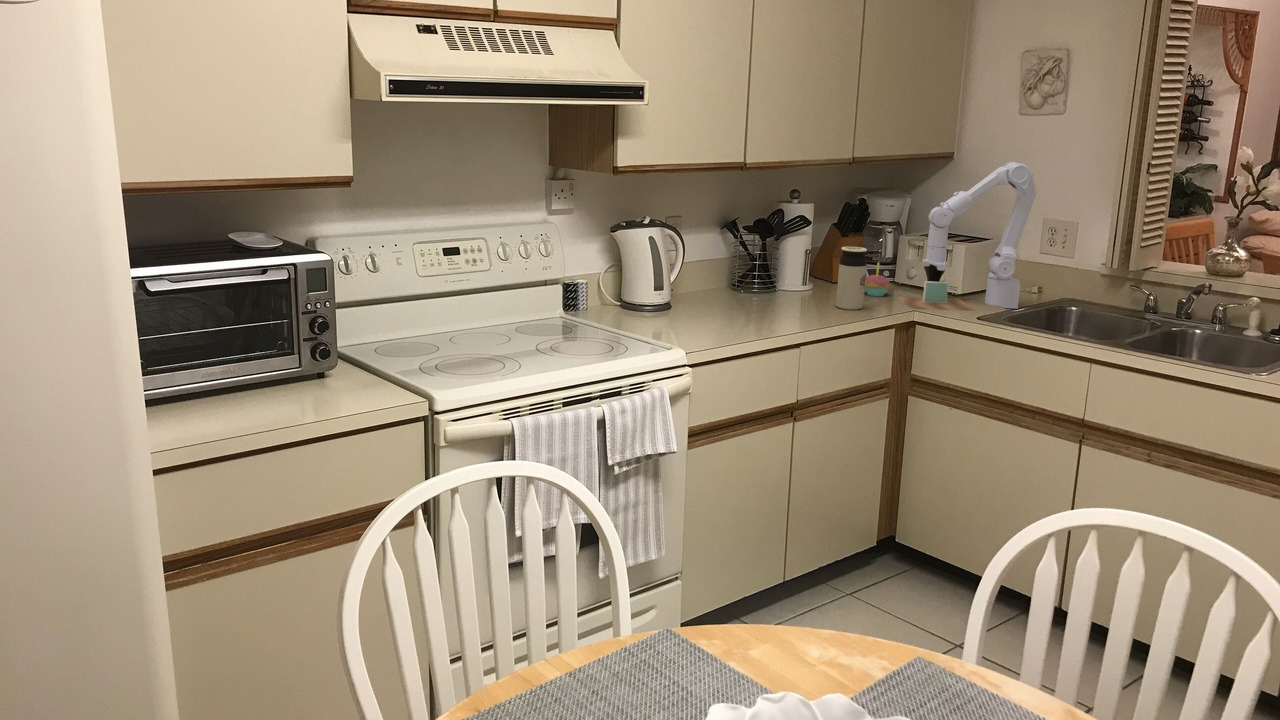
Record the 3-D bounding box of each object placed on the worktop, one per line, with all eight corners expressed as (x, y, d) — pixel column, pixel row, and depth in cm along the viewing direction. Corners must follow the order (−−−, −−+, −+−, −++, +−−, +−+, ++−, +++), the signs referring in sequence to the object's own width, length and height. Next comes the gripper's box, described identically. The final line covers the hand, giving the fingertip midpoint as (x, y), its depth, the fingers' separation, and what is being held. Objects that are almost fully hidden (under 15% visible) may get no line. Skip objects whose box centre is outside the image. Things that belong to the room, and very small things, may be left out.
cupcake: (889, 300, 320) (893, 262, 317) (862, 298, 321) (865, 261, 318) (887, 295, 328) (891, 258, 325) (860, 293, 329) (864, 256, 326)
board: (958, 301, 322) (958, 298, 322) (977, 313, 305) (977, 310, 304) (895, 299, 322) (896, 296, 321) (910, 311, 304) (911, 308, 304)
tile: (944, 302, 315) (947, 281, 313) (946, 303, 314) (948, 282, 312) (922, 301, 315) (924, 281, 313) (923, 302, 313) (926, 282, 312)
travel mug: (830, 306, 307) (835, 247, 303) (846, 303, 312) (851, 245, 308) (851, 311, 301) (856, 251, 297) (867, 308, 307) (873, 249, 302)
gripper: (917, 242, 320) (913, 284, 324) (930, 249, 306) (925, 293, 310) (940, 243, 320) (935, 285, 324) (953, 250, 306) (948, 294, 310)
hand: (932, 289), depth 317 cm, fingers closed
